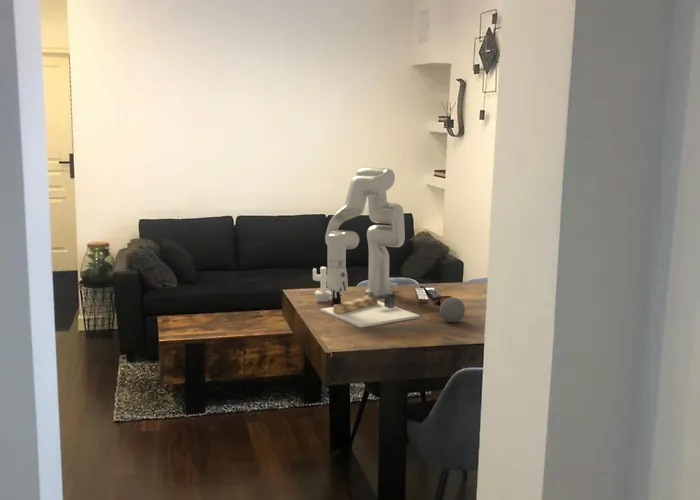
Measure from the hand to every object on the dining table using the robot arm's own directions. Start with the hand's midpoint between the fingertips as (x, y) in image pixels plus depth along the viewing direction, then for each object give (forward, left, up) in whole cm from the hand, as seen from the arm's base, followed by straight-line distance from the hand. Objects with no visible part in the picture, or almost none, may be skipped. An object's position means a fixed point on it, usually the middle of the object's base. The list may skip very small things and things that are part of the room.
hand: (336, 306), depth 314 cm
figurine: (-7, -22, -3) cm, 23 cm away
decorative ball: (-32, +36, -3) cm, 48 cm away
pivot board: (-10, +9, -3) cm, 14 cm away
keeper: (-20, +6, -2) cm, 21 cm away
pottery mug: (-40, +24, -3) cm, 47 cm away
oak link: (-9, +1, -1) cm, 9 cm away
